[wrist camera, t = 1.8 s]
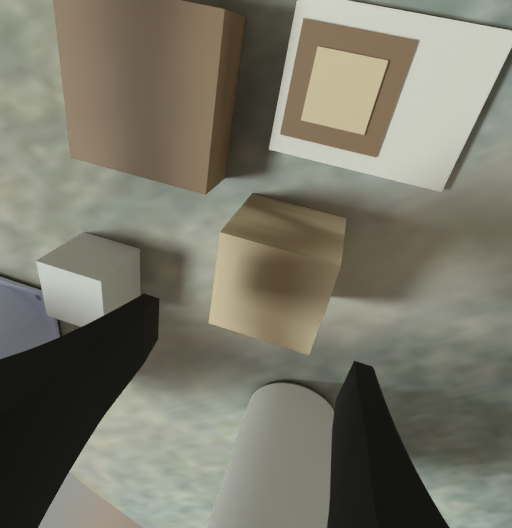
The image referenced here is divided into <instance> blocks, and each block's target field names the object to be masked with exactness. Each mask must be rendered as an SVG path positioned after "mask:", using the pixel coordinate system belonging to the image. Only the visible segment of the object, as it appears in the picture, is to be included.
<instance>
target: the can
mask: <svg viewBox="0 0 512 528" xmlns="http://www.w3.org/2000/svg"><path fill="white" fill-rule="evenodd" d="M333 418H334V411H333V409H332V407H331V406H330V404H329V403H328V402H327V401H326V400H325V398H323V397H322V396H321V395H320V394H318V393H317V392H315V391H314V390H312V389H310V388H308V387H305V386H303V385H300V384H296V383H291V382H275V383H271V384H268V385H266V386H263V387H261V388H259V389H258V390H257V391H255V392H254V393H253V395H252V396H251V398H250V401H249V404H248V406H247V409H246V412H245V415H244V418H243V421H242V424H241V427H240V430H239V433H238V436H237V439H236V442H235V445H234V448H233V451H232V454H231V457H230V460H229V463H228V466H227V469H226V472H225V475H224V478H223V481H222V484H221V487H220V490H219V493H218V496H217V499H216V502H215V505H214V508H213V511H212V514H211V517H210V520H209V523H208V526H207V528H327V522H328V514H329V502H330V476H331V445H332V425H333Z"/></svg>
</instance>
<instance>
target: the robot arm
mask: <svg viewBox="0 0 512 528" xmlns="http://www.w3.org/2000/svg"><path fill="white" fill-rule="evenodd" d="M158 321H159V298H156V297H153V296H150V295H147V294H142V295H141V296H139V297H137V298H135V299H133V300H131V301H129V302H128V303H126V304H124V305H122V306H120V307H119V308H117V309H115V310H113V311H111V312H109V313H108V314H106V315H104V316H102V317H100V318H98V319H96V320H94V321H92V322H90V323H88V324H86V325H84V326H82V327H80V328H78V329H76V330H74V331H72V332H70V333H68V334H65V335H63V336H61V337H60V334H59V328H58V323H57V319H56V318H53V317H50V316H47V313H46V308H45V303H44V298H43V293H42V290H39V289H36V288H33V287H30V286H27V285H24V284H21V283H18V282H15V281H12V280H9V279H6V278H3V277H0V528H38V526H39V525H40V523H41V521H42V519H43V517H44V515H45V513H46V511H47V510H48V508H49V506H50V504H51V503H52V501H53V499H54V497H55V495H56V494H57V492H58V490H59V488H60V487H61V485H62V483H63V481H64V479H65V478H66V476H67V474H68V473H69V471H70V469H71V468H72V466H73V464H74V463H75V461H76V459H77V458H78V456H79V454H80V453H81V451H82V449H83V448H84V446H85V444H86V443H87V441H88V440H89V438H90V436H91V435H92V433H93V432H94V430H95V428H96V427H97V425H98V424H99V422H100V421H101V419H102V418H103V416H104V415H105V414H106V412H107V411H108V410H109V408H110V407H111V406H112V404H113V403H114V402H115V400H116V399H117V398H118V397H119V395H120V394H121V393H122V391H123V390H124V389H125V387H126V386H127V385H128V383H129V382H130V381H131V380H132V378H133V377H134V376H135V374H136V373H137V372H138V370H139V369H140V368H141V366H142V365H143V363H144V362H145V360H146V359H147V357H148V355H149V354H150V352H151V350H152V349H153V347H154V345H155V343H156V341H157V340H158ZM327 528H449V526H448V525H447V523H446V522H445V520H444V518H443V517H442V515H441V514H440V512H439V510H438V509H437V507H436V505H435V504H434V502H433V500H432V499H431V497H430V495H429V493H428V492H427V490H426V488H425V486H424V484H423V483H422V481H421V479H420V477H419V475H418V473H417V471H416V470H415V468H414V466H413V464H412V462H411V460H410V458H409V455H408V453H407V451H406V449H405V447H404V445H403V443H402V441H401V438H400V436H399V434H398V432H397V429H396V427H395V425H394V422H393V420H392V417H391V415H390V413H389V410H388V408H387V405H386V402H385V400H384V397H383V394H382V391H381V389H380V386H379V383H378V380H377V377H376V374H375V371H374V369H373V367H372V366H369V365H365V364H362V363H359V362H356V361H354V363H353V365H352V367H351V369H350V371H349V373H348V375H347V378H346V380H345V382H344V384H343V386H342V388H341V390H340V392H339V394H338V397H337V399H336V405H335V411H334V418H333V425H332V445H331V476H330V502H329V514H328V522H327Z"/></svg>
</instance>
